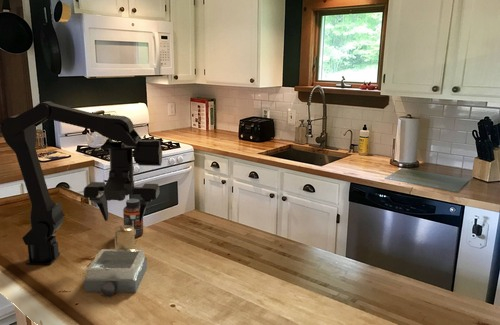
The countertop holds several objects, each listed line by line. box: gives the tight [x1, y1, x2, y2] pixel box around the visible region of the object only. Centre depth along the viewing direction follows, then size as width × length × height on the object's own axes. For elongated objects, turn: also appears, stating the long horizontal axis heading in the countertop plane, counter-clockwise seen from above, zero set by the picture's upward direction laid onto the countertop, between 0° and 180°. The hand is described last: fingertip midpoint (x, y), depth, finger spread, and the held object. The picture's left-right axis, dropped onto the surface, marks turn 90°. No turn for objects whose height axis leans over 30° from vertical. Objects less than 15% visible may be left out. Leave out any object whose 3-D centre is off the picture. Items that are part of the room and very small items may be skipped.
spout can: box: [113, 224, 136, 250], centre depth 112 cm, size 5×6×11 cm
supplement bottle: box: [122, 198, 144, 238], centre depth 128 cm, size 6×6×11 cm
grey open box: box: [83, 248, 148, 297], centre depth 101 cm, size 12×14×6 cm
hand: (123, 220), depth 110 cm, fingers open, 9 cm apart
